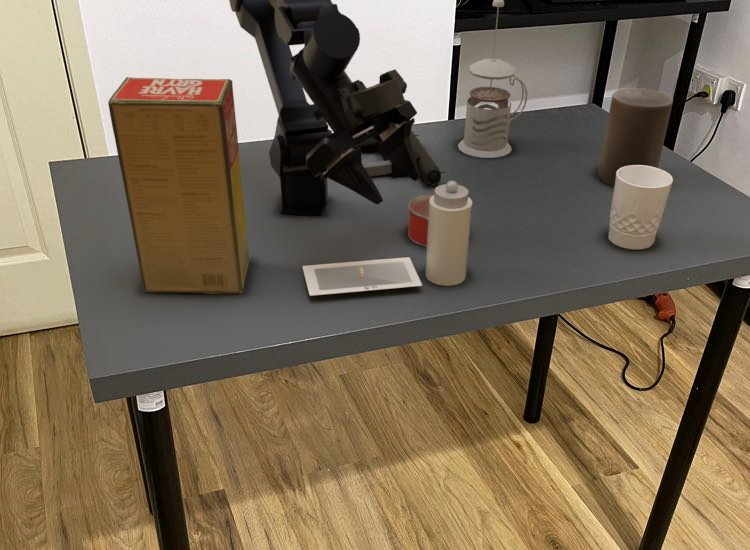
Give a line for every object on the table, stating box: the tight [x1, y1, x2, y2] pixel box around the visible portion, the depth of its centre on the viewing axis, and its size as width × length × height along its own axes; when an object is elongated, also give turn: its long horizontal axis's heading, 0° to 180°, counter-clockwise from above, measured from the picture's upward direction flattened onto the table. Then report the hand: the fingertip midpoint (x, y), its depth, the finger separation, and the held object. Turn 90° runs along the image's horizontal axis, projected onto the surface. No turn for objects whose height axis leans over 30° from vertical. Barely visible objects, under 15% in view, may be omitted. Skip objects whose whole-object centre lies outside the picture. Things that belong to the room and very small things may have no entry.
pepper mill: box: [424, 180, 473, 287], centre depth 110 cm, size 6×6×14 cm
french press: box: [457, 0, 528, 159], centre depth 143 cm, size 10×12×25 cm
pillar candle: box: [597, 87, 674, 187], centre depth 137 cm, size 10×10×15 cm
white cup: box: [607, 165, 674, 251], centre depth 121 cm, size 8×8×10 cm
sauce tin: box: [407, 193, 434, 248], centre depth 122 cm, size 8×8×5 cm
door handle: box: [353, 129, 446, 185], centre depth 142 cm, size 3×20×16 cm
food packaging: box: [107, 77, 251, 295], centre depth 105 cm, size 13×9×25 cm
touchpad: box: [301, 256, 423, 297], centre depth 111 cm, size 8×15×2 cm, turn 102°
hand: (399, 190), depth 111 cm, fingers open, 9 cm apart
